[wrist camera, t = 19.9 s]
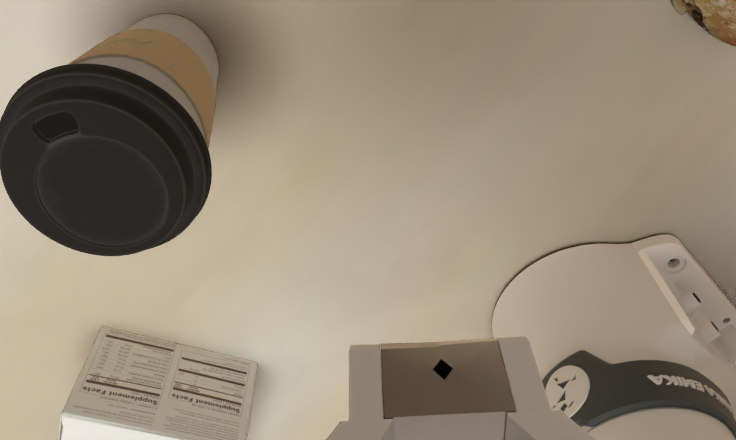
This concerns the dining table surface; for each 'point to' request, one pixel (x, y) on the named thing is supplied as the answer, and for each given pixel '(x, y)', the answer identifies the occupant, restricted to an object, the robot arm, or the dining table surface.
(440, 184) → the dining table surface
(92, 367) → the supplement box
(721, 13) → the bread roll
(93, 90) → the coffee cup
